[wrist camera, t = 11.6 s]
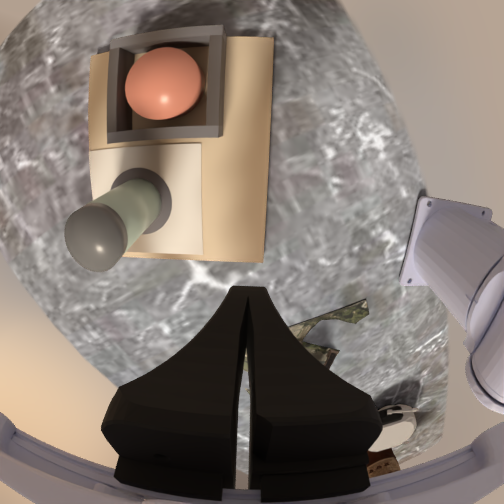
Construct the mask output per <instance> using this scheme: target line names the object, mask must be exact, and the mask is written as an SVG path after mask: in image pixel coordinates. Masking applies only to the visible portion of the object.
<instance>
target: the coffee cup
mask: <svg viewBox="0 0 504 504" xmlns="http://www.w3.org/2000/svg"><path fill="white" fill-rule="evenodd" d="M367 453H368V457H369V463H368V464H367V465H366V467H367V471H368V476H369V478H372V477H377V476H381V475H385V474H389V473H393V472H396V471H400V467H399V464H398V461H397V460H396V457H395V455H394V454H393V451H392V448H389V449H385V450H381V451H378V452H374V451H369V450H368V451H367Z"/></svg>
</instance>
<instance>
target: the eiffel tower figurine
mask: <svg viewBox="0 0 504 504" xmlns="http://www.w3.org/2000/svg"><path fill="white" fill-rule="evenodd" d="M367 315H369V311H368V306H367V302H366V299H365V300H363V301H361V302H358V303H356V304H353V305H351V306H348V307H345V308H342V309H339V310H336V311H333V312H330V313H327V314H325V315H322V316H319V317H316V318H313V319H311V320H308V321H305V322H303V323H300V324H297V325H294V326H291V327H288V328H289V329H290V330H291V332H292V333H293V334H294V336H295V337H296V338H297V339H298V340H299V342H300V343H301V344H302V345H303V346H304V347H305V348H306V349H307V350H308V351H309V352H310V353H311V354H312V355H313V356H314V357H315V358H316V359H317V360H318V361H319V362H321V363H322V364H323V365H324V366H325V367H327V368H328V369H330V367H331V365H332V363H333V361H334V359H335V357H336V355H337V354H338V353H339V351H340V350H335V349H331V348H327V347H322V346H318V345H314V344H310V343H306V342H302V341H303V339H304V337H305V336H306V335H307V333H308V332H309V331H310V330H311V329H312V328H313V327H314V326H315V325H316V324H317V323H318V322H319V321H321V320H330V319H339V320H342V321H345V322H349V323H354V324H356V323H357V322H358V321H359V320H361V319H362V318H364V317H366V316H367ZM243 369H244V370H245V371H247V372H248V363H247V350H246V354H245V361H244V367H243ZM245 389H246V388H245ZM246 390H247V392H248V393H249V394H250V390H249V389H246Z"/></svg>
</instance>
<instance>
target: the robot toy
mask: <svg viewBox="0 0 504 504" xmlns="http://www.w3.org/2000/svg"><path fill="white" fill-rule="evenodd" d="M417 410H419V409H418V408H413V409H412V408H411V407H410V406H407V405H402V404H398V405H395V406H393V405H388V406H385V407H383V408H381V409H380V410H378V412H379V415H380V418H381V421H382V424H383V431H382V432H381V434H380V436H379V437H378V439H377V440H376V441H375V442H374V444H373V445H372V446H371V447H370V448H369V451H374V452H378V451H381V450H385V449H389V448H392V447H395V446H399V445H400V444H407V443H409V441H407V440H408V438H409V437H410V436H411V435H412V433H413V432H414V430H415V428H416V427H417V425H416V419H415V415H414V412H415V411H417Z"/></svg>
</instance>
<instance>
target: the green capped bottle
mask: <svg viewBox="0 0 504 504" xmlns="http://www.w3.org/2000/svg"><path fill="white" fill-rule="evenodd" d="M161 205H162V202H161V196H160V194H159V191H158V190H157V188H156V187H155V186H154V185H153V184H152V183H151V182H149V181H147V180H145V179H141V178H135V179H131V180H129V181H127V182H125V183H123V184H121V185H119V186H118V187H116V188H114V189H112V190H110V191H109V192H107V193H105V194H103V195H102V196H100V197H98V198H97V199H95V200H93V201H91V202H90V203H88V204H86V205H85V206H83V207H82V208H80V209H78V210H77V211H75V212H74V213H72V214H71V215H70V217H69V218H68V220H67V222H66V225H65V242H66V245H67V248H68V250H69V252H70V254H71V255H72V257H73V258H74V259H75V261H76V262H77V263H79V264H80V265H81V266H82V267H84V268H86V269H88V270H90V271H93V272H104V271H107V270H109V269H111V268H112V267H113V266H114V265H115V264H116V263H117V262H118V260H119V259H120V258H121V257H122V256H123V255H124V253H125V252H126V251H127V250H128V249H129V248H130V247H131V245H132V244H133V243H134V242H135V241H136V240H137V239H138V238H139V237H140V235H141V234H142V233H143V232H144V231H145V230H146V229H147V228H148V227H149V226H150V225H151V223H152V222H153V221H154V220H155V219H156V218H157V217H158V215H159V213H160V211H161Z"/></svg>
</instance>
